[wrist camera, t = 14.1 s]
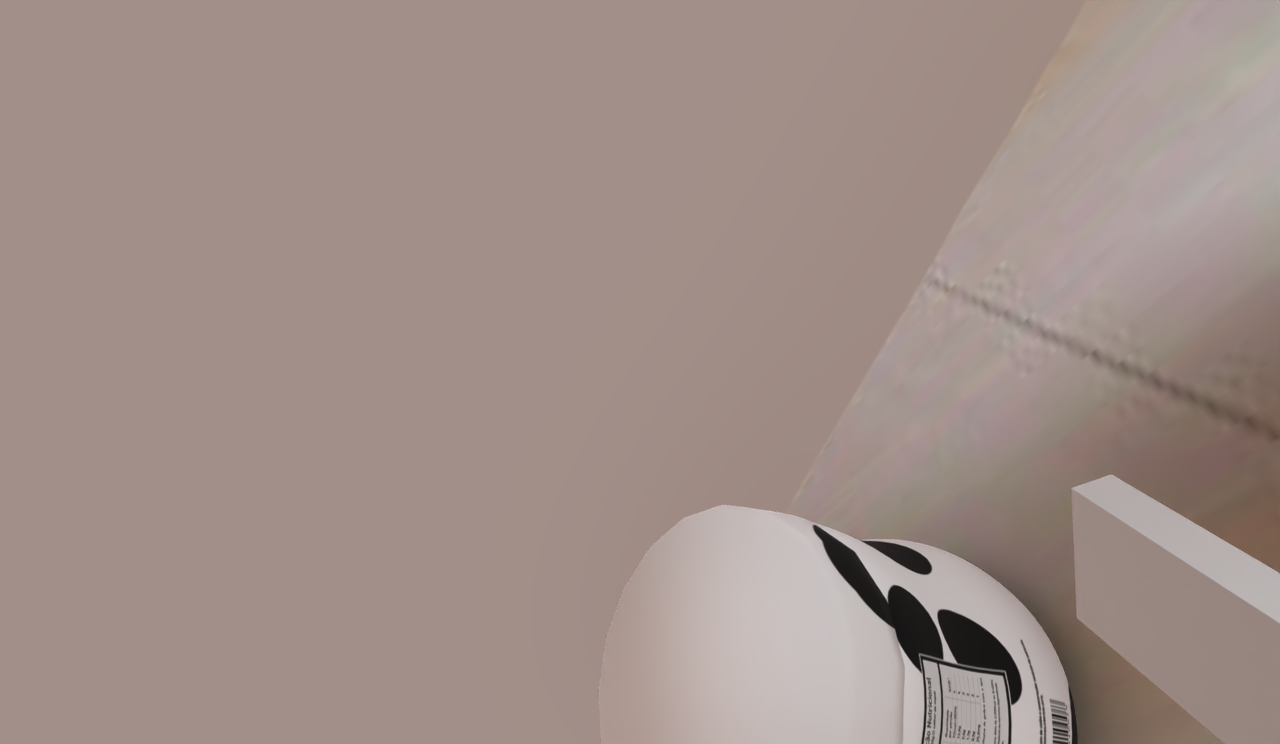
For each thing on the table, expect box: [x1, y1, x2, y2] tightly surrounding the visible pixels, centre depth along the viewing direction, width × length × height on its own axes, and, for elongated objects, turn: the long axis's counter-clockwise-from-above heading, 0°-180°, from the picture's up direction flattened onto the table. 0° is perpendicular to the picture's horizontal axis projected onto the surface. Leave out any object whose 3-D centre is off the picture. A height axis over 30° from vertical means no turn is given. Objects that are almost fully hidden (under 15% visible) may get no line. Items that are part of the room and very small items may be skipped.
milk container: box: [598, 505, 1077, 744], centre depth 40 cm, size 17×17×18 cm
